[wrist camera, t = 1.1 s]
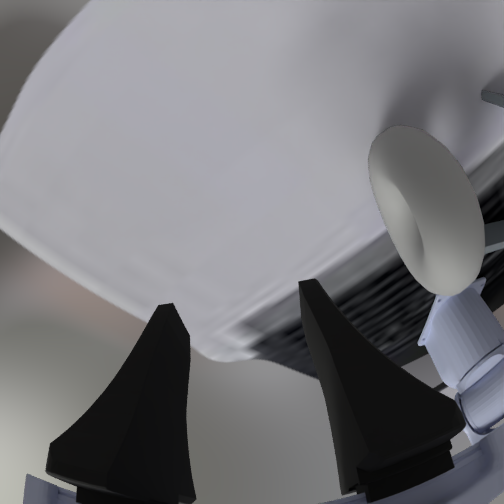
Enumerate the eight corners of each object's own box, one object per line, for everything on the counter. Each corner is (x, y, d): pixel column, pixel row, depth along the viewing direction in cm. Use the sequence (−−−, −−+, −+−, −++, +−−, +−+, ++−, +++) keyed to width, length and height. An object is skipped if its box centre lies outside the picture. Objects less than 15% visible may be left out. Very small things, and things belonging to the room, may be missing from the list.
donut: (339, 120, 16) (441, 186, 8) (385, 102, 15) (503, 154, 7) (379, 239, 21) (442, 338, 13) (414, 221, 20) (487, 310, 12)
